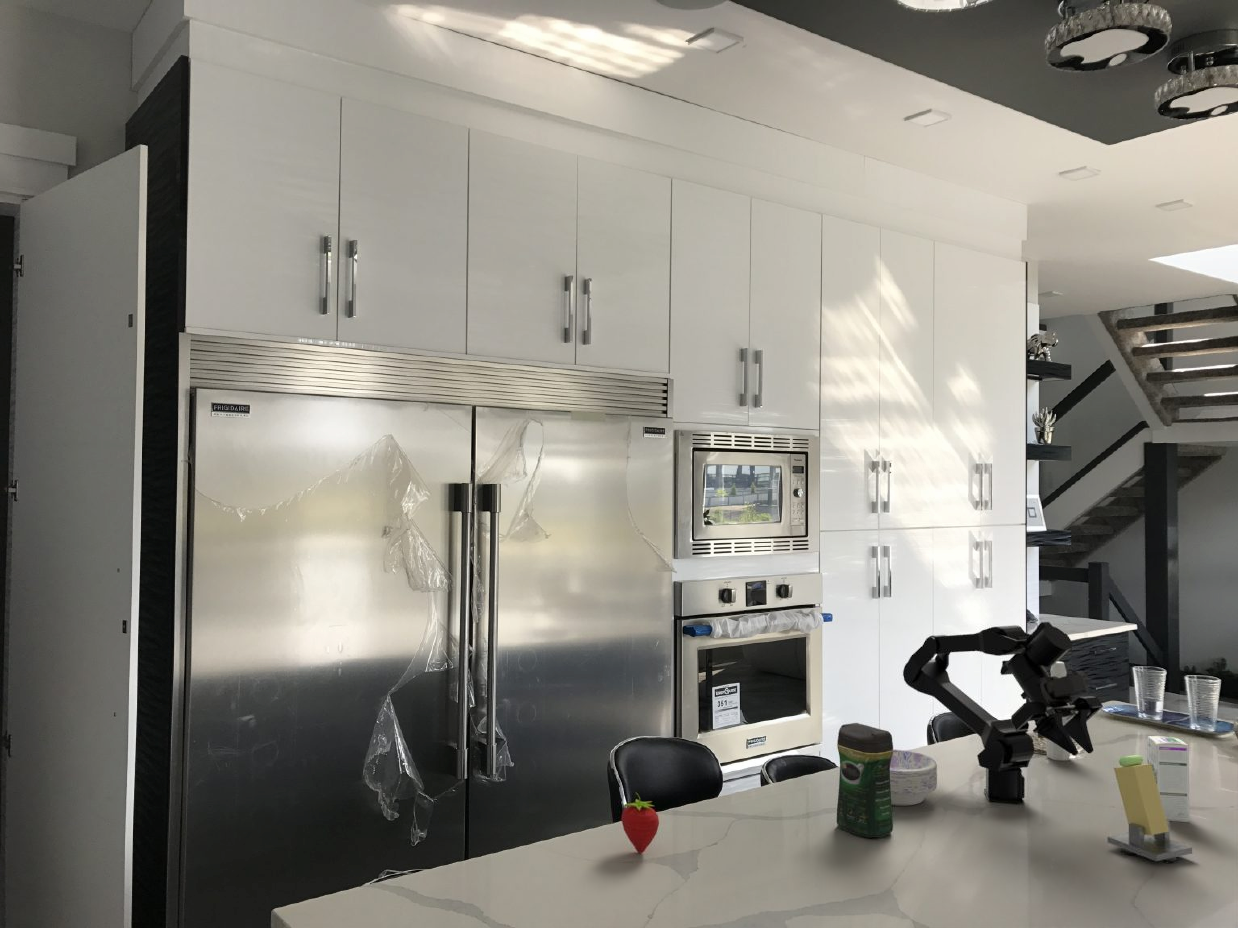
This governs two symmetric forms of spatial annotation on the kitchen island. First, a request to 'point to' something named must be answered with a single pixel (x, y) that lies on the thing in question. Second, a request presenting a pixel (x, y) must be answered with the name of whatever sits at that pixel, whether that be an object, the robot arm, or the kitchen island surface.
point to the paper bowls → (911, 777)
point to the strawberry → (640, 824)
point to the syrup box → (1171, 775)
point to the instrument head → (1140, 795)
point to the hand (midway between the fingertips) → (1083, 753)
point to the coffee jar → (864, 780)
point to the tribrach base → (1149, 844)
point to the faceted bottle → (1052, 748)
